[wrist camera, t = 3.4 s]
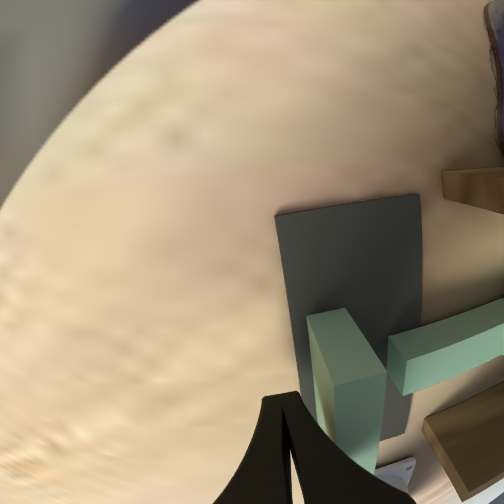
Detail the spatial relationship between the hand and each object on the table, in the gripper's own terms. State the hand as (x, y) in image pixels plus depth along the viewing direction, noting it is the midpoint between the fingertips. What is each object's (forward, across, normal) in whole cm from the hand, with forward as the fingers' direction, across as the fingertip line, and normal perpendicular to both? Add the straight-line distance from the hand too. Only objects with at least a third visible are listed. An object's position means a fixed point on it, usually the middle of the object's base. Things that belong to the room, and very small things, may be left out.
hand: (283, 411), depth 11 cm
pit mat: (+3, -4, 0) cm, 5 cm away
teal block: (+2, -11, 0) cm, 12 cm away
